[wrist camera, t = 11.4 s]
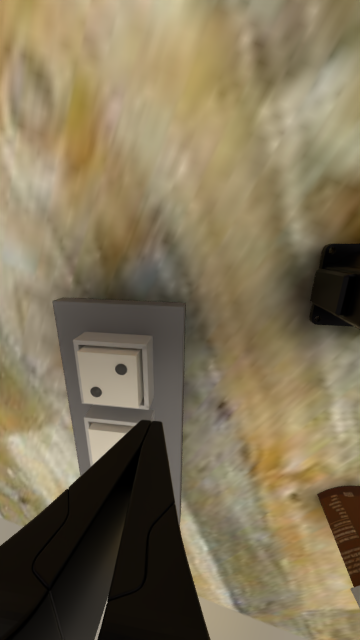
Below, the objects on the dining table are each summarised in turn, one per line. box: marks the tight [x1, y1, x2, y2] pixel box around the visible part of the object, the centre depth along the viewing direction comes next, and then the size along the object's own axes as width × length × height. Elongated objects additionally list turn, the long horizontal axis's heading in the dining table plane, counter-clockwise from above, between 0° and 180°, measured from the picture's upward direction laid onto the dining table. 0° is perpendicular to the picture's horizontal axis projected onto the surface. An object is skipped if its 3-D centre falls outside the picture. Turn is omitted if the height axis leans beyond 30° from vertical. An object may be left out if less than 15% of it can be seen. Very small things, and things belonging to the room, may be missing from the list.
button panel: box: [53, 298, 186, 526], centre depth 24 cm, size 12×28×4 cm, turn 179°
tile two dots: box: [77, 345, 144, 408], centre depth 20 cm, size 5×5×2 cm
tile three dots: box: [88, 422, 134, 464], centre depth 22 cm, size 5×5×2 cm
